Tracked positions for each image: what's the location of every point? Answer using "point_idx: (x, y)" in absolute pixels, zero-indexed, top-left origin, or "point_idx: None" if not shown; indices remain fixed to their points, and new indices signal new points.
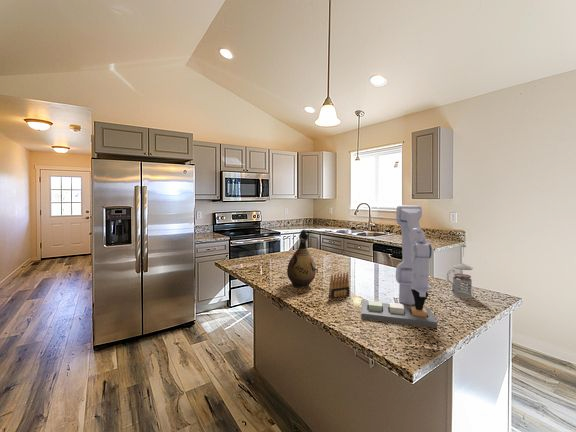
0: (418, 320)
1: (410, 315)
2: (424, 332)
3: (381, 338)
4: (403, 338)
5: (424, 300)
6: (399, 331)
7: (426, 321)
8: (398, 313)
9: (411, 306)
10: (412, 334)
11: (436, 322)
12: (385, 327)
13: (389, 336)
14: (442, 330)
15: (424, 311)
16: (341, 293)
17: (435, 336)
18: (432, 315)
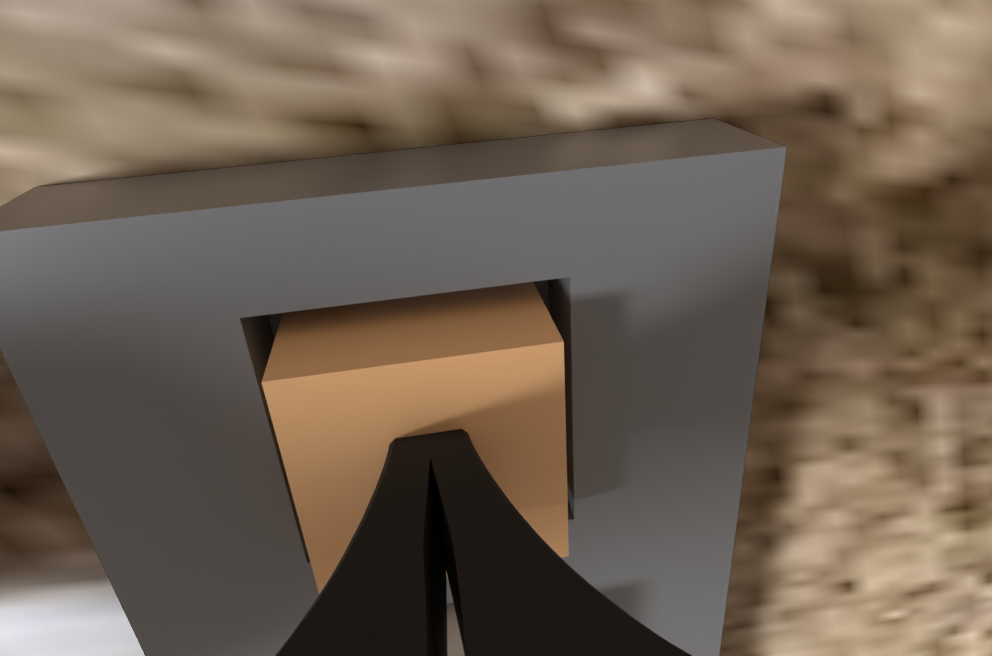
0: (747, 422)
1: (590, 527)
2: (801, 288)
3: (976, 617)
4: (971, 477)
5: (581, 584)
6: (819, 522)
7: (762, 316)
8: None
9: None
10: (874, 409)
11: (783, 159)
12: (749, 630)
13: (936, 576)
14: (680, 23)
15: (518, 388)
16: None
17: (902, 158)
18: (448, 206)
